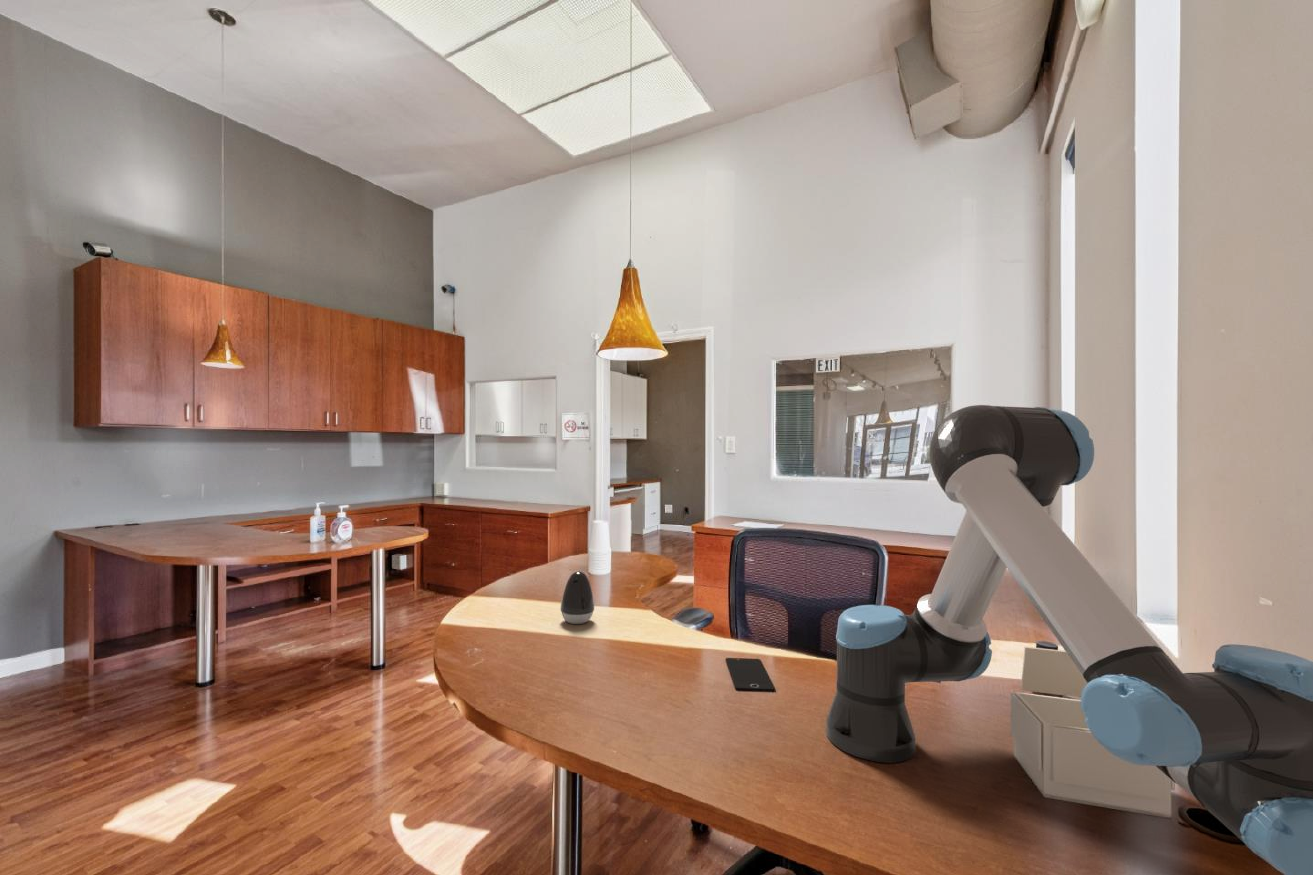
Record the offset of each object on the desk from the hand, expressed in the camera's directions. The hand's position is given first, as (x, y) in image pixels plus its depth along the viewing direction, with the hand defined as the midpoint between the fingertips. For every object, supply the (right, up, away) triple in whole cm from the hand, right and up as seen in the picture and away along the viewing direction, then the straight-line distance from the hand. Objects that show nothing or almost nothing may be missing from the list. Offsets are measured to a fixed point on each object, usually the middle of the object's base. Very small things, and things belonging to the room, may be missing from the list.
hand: (1093, 681), depth 84 cm
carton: (0, -17, +1) cm, 17 cm away
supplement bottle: (+18, -19, +35) cm, 44 cm away
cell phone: (-47, -18, +42) cm, 65 cm away
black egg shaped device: (-93, -18, +78) cm, 123 cm away
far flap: (+1, -2, +6) cm, 7 cm away
